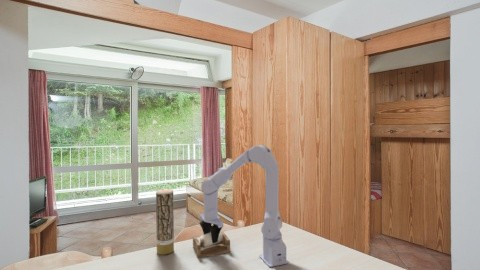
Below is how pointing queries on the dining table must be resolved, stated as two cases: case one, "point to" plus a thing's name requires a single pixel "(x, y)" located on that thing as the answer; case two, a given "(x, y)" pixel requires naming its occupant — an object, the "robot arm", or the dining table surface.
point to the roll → (209, 240)
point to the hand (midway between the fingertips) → (211, 240)
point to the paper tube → (164, 221)
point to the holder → (211, 247)
